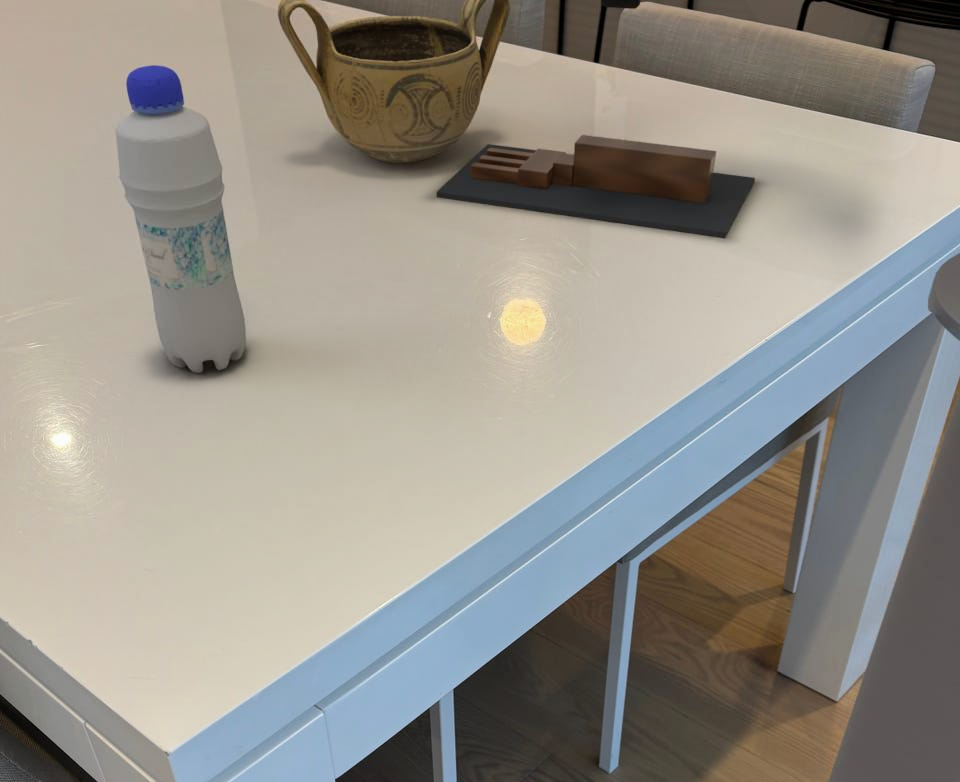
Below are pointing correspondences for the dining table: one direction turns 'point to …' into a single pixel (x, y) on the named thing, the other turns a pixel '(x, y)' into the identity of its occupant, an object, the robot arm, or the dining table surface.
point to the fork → (607, 168)
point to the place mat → (609, 201)
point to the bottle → (180, 221)
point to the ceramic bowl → (400, 77)
